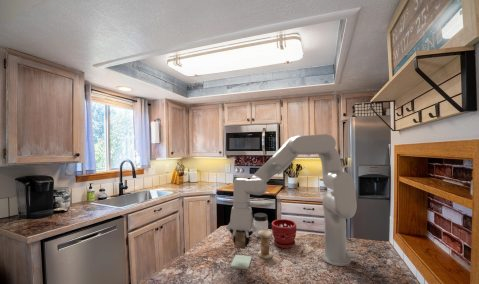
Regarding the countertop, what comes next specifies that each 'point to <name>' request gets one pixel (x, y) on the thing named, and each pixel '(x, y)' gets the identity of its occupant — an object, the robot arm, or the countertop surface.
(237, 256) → the board
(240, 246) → the block
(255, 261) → the countertop surface
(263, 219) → the jar
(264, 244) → the cream drawer knob
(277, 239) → the plant pot
